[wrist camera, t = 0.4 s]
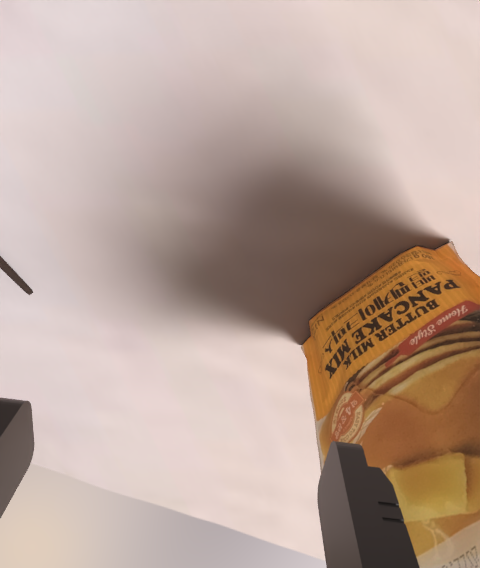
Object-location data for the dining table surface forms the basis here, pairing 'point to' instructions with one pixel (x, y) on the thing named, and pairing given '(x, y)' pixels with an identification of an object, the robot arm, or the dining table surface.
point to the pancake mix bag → (409, 393)
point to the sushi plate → (14, 276)
